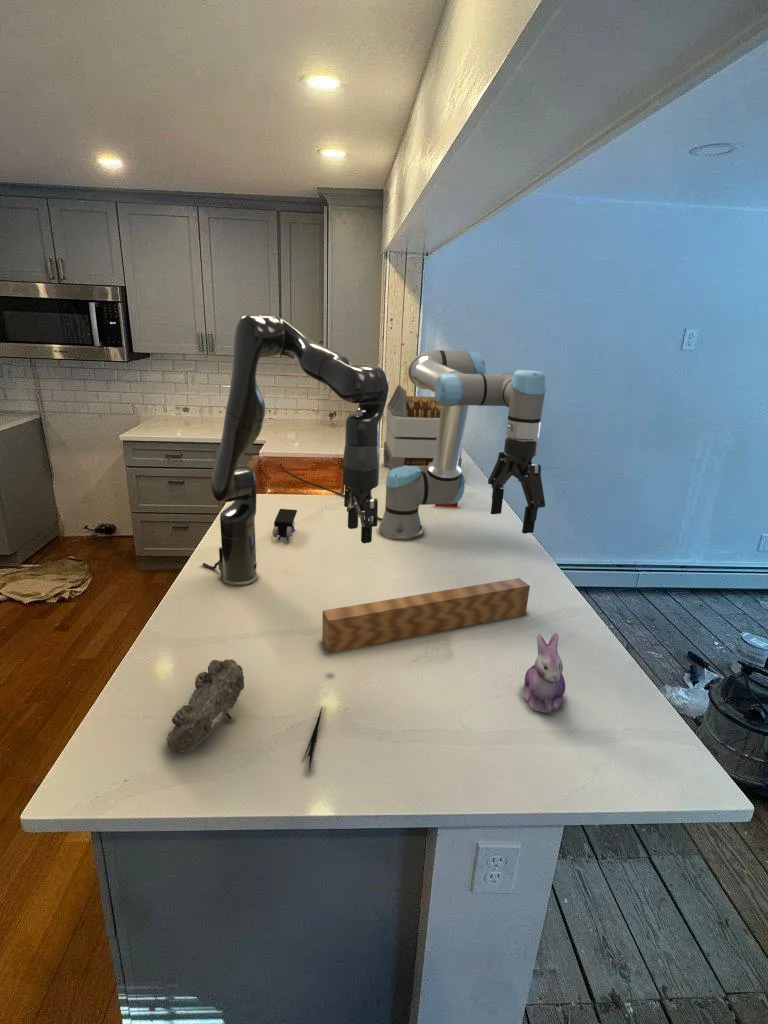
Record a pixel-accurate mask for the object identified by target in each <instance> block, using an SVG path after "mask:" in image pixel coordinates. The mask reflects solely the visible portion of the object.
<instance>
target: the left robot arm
mask: <svg viewBox="0 0 768 1024" xmlns="http://www.w3.org/2000/svg"><path fill="white" fill-rule="evenodd" d="M233 341H234V343H233V354H232V355H233V358H232V371H231V378H230V379H231V380H230V386H229V393H228V399H227V402H226V408H225V414H224V420H223V421H224V422H223V428H222V435H221V440H220V445H219V449H218V453H217V456H216V459H215V462H214V466H213V470H212V472H211V473H212V474H211V480H210V486H211V487H210V488H211V492H212V495H213V497H214V498H215V500H216V501H217V502H219V503H230V502H232V503H231V504H230V505H229V506H228V507H227V508H225V509H224V510H222V511H221V513H220V514H219V525H220V526H219V527H220V539H221V540H220V542H221V546H220V547H219V548H218V556H219V560H218V561H217V562H215V563H214V565H213V566H212V565H210V564H207V563H205V562H203V563H202V566H203V567H205V568H208V569H209V570H216V569H217V568H218V570H219V572H220V580H223V581H224V583H225V584H227V585H230V586H246V585H250V584H252V583H254V582H255V581H256V580H257V579H258V573H257V572H258V571H257V568H258V562H257V548H256V547H257V546H256V523H255V521H256V520H255V518H256V514H257V495H258V494H257V492H258V490H257V487H258V485H257V477H256V474H255V472H254V470H253V468H252V467H251V466H250V465H249V464H239V462H240V460H241V459H242V457H243V456H244V455H245V454H246V452H247V451H248V450H249V449H250V447H252V445H253V444H255V441H256V440H257V439H258V438H259V436H260V434H261V432H262V428H263V423H264V421H265V420H264V419H265V414H266V403H265V399H264V396H263V394H262V392H261V389H260V388H259V385H258V382H257V370H258V364H259V361H260V358H267V357H275V356H283V357H287V358H291V359H293V360H295V361H296V362H297V364H298V366H299V367H300V369H301V371H303V372H304V373H305V374H306V375H307V376H308V377H310V378H312V379H314V380H315V381H318V382H320V383H322V384H323V385H325V386H328V388H329V389H330V390H332V392H333V393H334V394H335V395H337V396H338V397H339V398H340V399H342V400H343V401H345V402H347V403H349V404H358V407H357V409H356V411H354V412H352V413H351V414H349V415H348V416H347V417H346V419H345V436H344V437H345V439H344V440H345V442H344V449H343V474H342V478H343V480H342V482H343V483H342V484H343V485H344V495H345V496H344V497H343V500H344V501H343V506H344V508H346V512H347V528H348V529H349V530H354V529H358V527H359V521H360V526H361V527H360V542H361V543H362V544H370V543H372V540H373V527H378V519H377V518H378V512H379V511H378V510H379V509H378V508H379V506H378V504H379V501H378V498H373V495H372V490H373V489H375V488H377V487H378V486H379V483H380V482H379V481H380V455H381V454H380V453H381V452H380V424H381V421H382V418H383V415H384V412H385V409H386V404H387V400H388V397H389V390H390V389H389V387H390V385H389V379H388V376H387V374H386V372H385V370H383V368H381V367H380V366H376V365H366V366H353V365H352V364H351V361H350V360H349V358H347V357H346V356H344V355H343V354H341V353H339V352H337V351H335V350H333V349H331V348H329V347H327V346H324V345H322V344H320V343H318V342H316V341H315V340H313V339H311V338H310V337H308V336H307V335H305V334H304V333H302V332H301V331H300V330H298V329H297V328H295V326H293V325H292V324H290V323H289V322H288V321H286V320H285V319H283V318H282V317H280V316H278V315H276V314H271V313H269V314H268V313H266V314H265V313H264V314H263V313H262V314H246V315H243V316H241V318H240V319H239V320H238V322H237V324H236V328H235V333H234V340H233ZM359 519H360V520H359Z"/></svg>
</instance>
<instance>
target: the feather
mask: <svg viewBox="0 0 768 1024" xmlns="http://www.w3.org/2000/svg"><path fill="white" fill-rule="evenodd" d="M329 675H330V676H331V675H332V674H331V673H330V674H329ZM322 710H323V707H321V708H320V710H319V713H318V716H317V719H316V723H315V725H314V728H313V731H312V733H311V737H310V739H309V742H308V745H307V748H306V751H305V754H304V757H303V760H302V763H301V767H302V765H303V763H304V761H305V758H308V759H309V760H308V762H307V763H308V764H307V766H308V771H310V770H311V766H312V765H311V764H312V760H313V757H315V756H314V755H315V751H316V749H315V746H317V739H318V733H319V729H320V722H321V717H322V712H323V711H322ZM313 754H314V755H313ZM306 755H307V757H306Z"/></svg>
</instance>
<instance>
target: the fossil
mask: <svg viewBox="0 0 768 1024" xmlns="http://www.w3.org/2000/svg"><path fill="white" fill-rule="evenodd" d="M243 670H244V669H243V667H242V665H240V664H237V662H236V661H235V660H234V659H232V658H231V659H227V658H226V659H224V660H223V661H222V660H217V659H212V660H211V661H210V663H209V665H208V666H207V671H201V672H199V673H198V674H197V675H196V676H195V680H194V684H195V685H194V687H195V689H194V690H193V693H192V694H191V697H190V698H189V700H188V704H184V705H182V706H181V707H180V709H177V710H176V711H175V713H174V715H173V716H172V718H171V723H172V724H173V727H172V730H171V731H170V732H168V734H167V738H166V741H167V742H166V745H167V749H168V750H169V751H173V752H174V753H176V754H178V753H182V752H188V751H189V752H192V751H193V750H195V748H196V747H197V746H199V744H200V743H201V742H203V741H204V740H205V739H206V738H207V737H208V736H209V735H210V734H211V733H212V732H214V730H215V729H217V727H218V726H219V724H220V722H221V721H222V720H223V719H224V718H225V716H226V717H227V719H229V720H233V717H232V715H230V714H229V710H230V709H231V708H234V706H235V704H236V703H237V702H238V699H239V697H240V695H241V693H242V691H243V690H245V689H244V688H245V675H244V671H243Z"/></svg>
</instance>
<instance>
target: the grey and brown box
mask: <svg viewBox="0 0 768 1024" xmlns="http://www.w3.org/2000/svg"><path fill="white" fill-rule="evenodd" d="M407 394H408V393H407V390H406V389H404V388H403V387H402V385H399V384H398V385H397V386H396V388H395V390H394V392H393V394H392V395H391V398H390V400H389V402H388V404H387V405H386V413H385V414H386V415H385V423H386V428H385V438H384V442H383V466H384V467H388V468H389V471H390V470H392V469H394V468H397V467H402V466H416V467H428V465H429V463H431V462H433V458H434V452H435V445H436V439H437V433H438V426H439V420H440V413H441V407H442V405H440V404H439V403H438V402H437V401H436V398H435V396H415V395H414V396H413V395H412V396H411V395H407ZM463 442H464V440H462V444H463ZM462 453H463V445H462V446H461V451H460V457H459V462H458V466H459V467H460V468H461V469H462V461H463V460H462Z"/></svg>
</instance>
